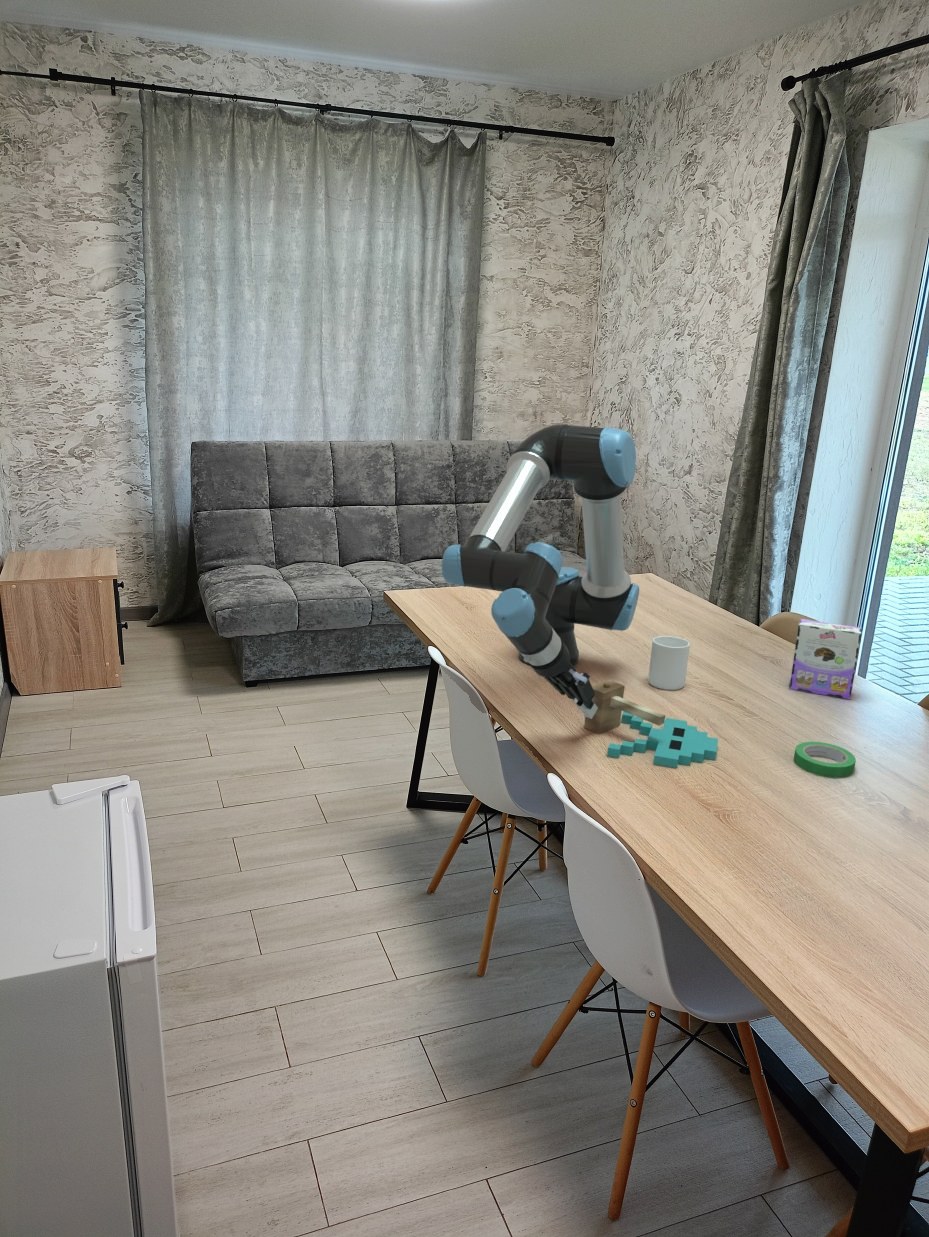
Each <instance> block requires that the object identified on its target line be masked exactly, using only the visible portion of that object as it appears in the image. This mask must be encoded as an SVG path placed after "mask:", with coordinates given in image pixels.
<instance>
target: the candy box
mask: <svg viewBox="0 0 929 1237" xmlns="http://www.w3.org/2000/svg"><path fill="white" fill-rule="evenodd" d="M862 629H863V628H862V627H861V626H854V625H846V624H840V623H832V622H825V621H818V620H812V619H805V618H800V621H799V623H798V626H797V633H796V634H797V635H796V641H795V647H794V655H793V660H792V667H791V674H790V680H789V686H788V689H789V690H793V691H801V692H805V693H811V694H818V695H822V696H828V697H835V698H839V699H840V698H841V699H846V700H850V699H851V698H852V690H853V687H854V686H853V685H854V680H855V675H856V669H857V666H858V658H859V653H860V645H861V638H862Z"/></svg>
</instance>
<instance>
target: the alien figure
mask: <svg viewBox="0 0 929 1237" xmlns="http://www.w3.org/2000/svg"><path fill="white" fill-rule="evenodd" d="M621 723H622V724H627V725H628V724H629V725H630V726H629V728H630V729H633V730H639V735H644V736H647V739H643V738H642V739H641V738H635V739H634V742H633V741H632V742H631V741H627V740H622V742H621V744H617V743H611V742H610V743H609V744H608V747H607V757H610V758H616V759H620V756H621V755H627V756H633V753H634V752H636V753H643V754H645V753H646V750H651V751H653V750H654V751H655V752H654V756H653V765H656V766H660V767H667V768H671V769H677V768H678V766H679V765H685V766H691V762H694V763H700V764H703V763H704V759H705V760H710V761H716V758H717V750H718V741H719V738H717V737H711V736H708V734H709V733H708V732H706V731H700V730H698V726H696V725H688V721H687V720H683V719H678V718H677V719H676V718H670V717H665V721H664V724H662V729H660V728H655V727H653V725H654V724H653V723H651V722H644V719H641V718H639V717H636V716H634V715H631V714H629V713H626V712H624V711H622V713H621V720H620V724H621Z"/></svg>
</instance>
